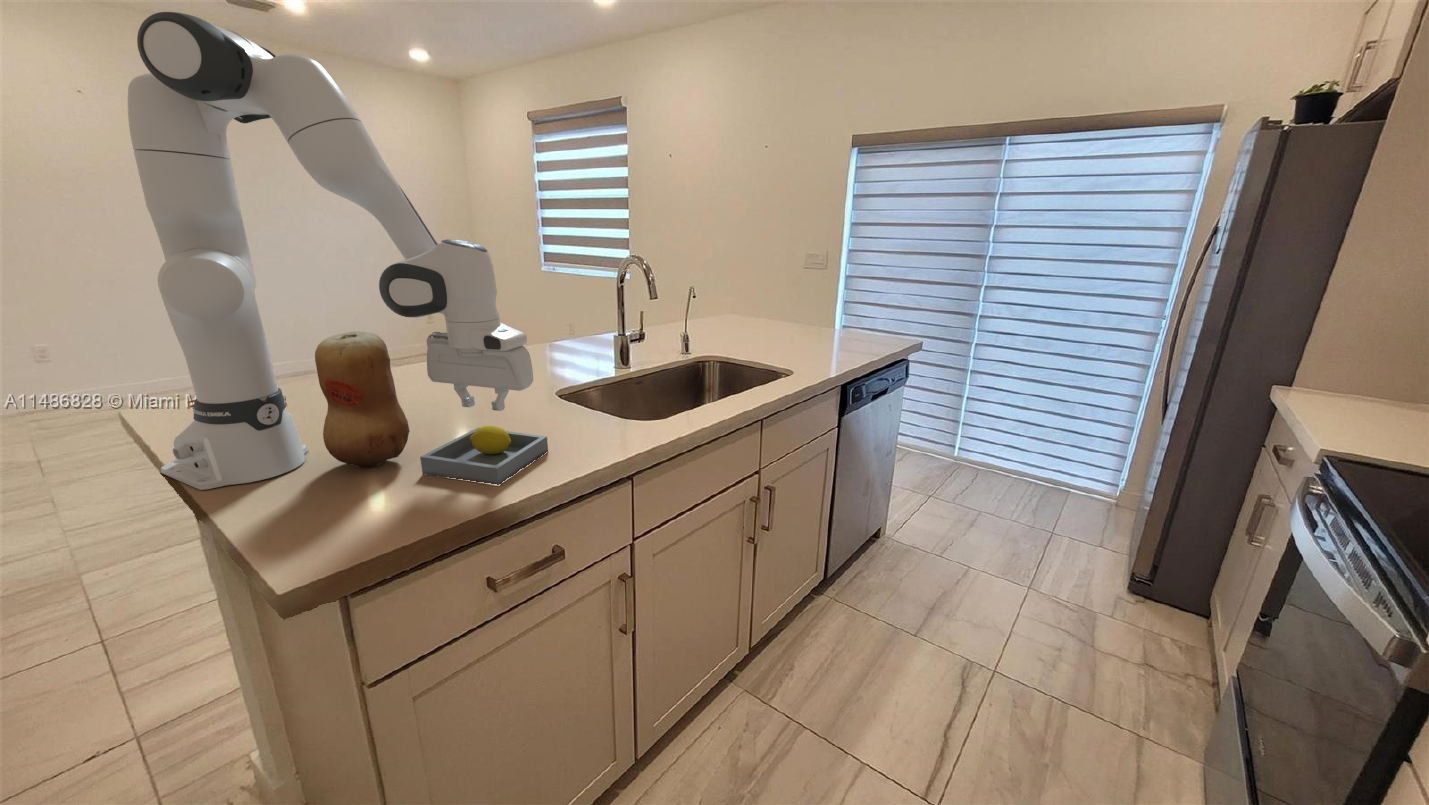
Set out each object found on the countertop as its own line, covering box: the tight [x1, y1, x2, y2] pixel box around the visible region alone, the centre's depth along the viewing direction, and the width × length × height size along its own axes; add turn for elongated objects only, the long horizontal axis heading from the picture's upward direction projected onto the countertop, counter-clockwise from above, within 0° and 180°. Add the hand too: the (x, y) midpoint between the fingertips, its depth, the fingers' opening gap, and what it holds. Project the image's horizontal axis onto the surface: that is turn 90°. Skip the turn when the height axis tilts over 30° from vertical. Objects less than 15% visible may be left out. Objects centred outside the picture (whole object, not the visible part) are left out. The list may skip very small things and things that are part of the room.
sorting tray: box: [419, 426, 549, 485], centre depth 105 cm, size 16×16×4 cm
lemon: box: [470, 425, 511, 454], centre depth 107 cm, size 6×6×8 cm
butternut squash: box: [314, 330, 410, 468], centre depth 100 cm, size 14×13×25 cm
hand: (483, 408), depth 103 cm, fingers open, 5 cm apart
